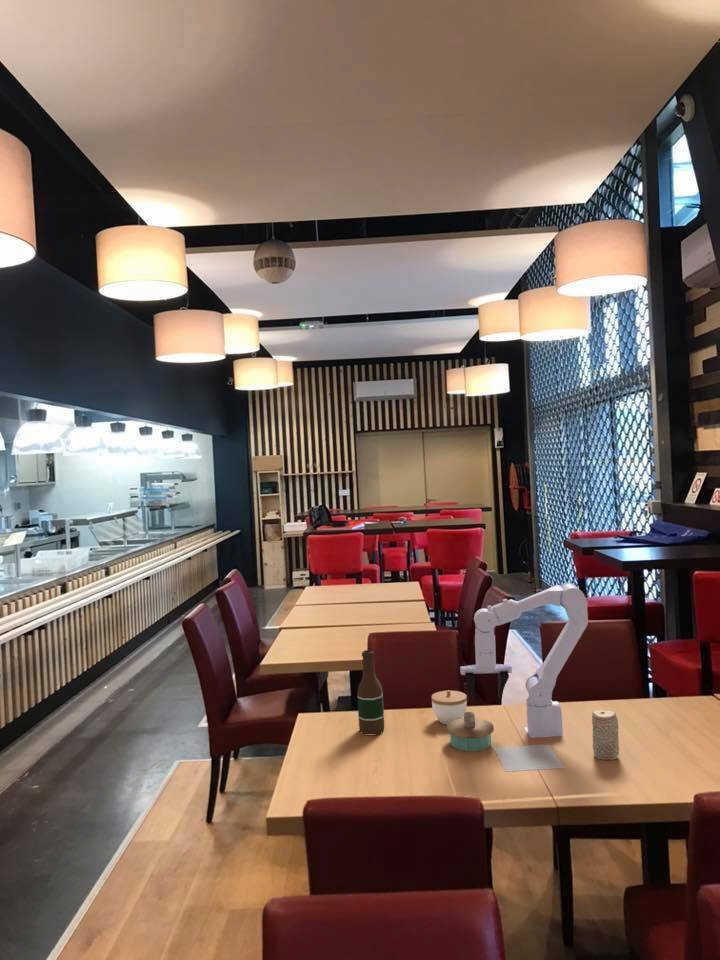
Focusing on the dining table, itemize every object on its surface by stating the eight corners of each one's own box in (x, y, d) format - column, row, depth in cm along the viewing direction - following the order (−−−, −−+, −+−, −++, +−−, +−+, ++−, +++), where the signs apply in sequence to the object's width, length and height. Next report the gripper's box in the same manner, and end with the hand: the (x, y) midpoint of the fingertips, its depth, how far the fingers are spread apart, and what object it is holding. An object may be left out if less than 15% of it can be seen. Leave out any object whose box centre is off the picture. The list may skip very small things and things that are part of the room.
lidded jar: (467, 714, 221) (465, 684, 221) (468, 727, 211) (467, 696, 211) (432, 715, 223) (430, 685, 222) (432, 728, 212) (431, 697, 212)
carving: (589, 761, 183) (587, 714, 183) (599, 750, 189) (596, 706, 189) (614, 766, 179) (611, 719, 179) (623, 755, 185) (621, 709, 185)
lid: (486, 719, 204) (485, 704, 204) (499, 735, 191) (498, 720, 191) (442, 722, 203) (441, 708, 203) (452, 740, 190) (451, 724, 190)
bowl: (486, 736, 203) (485, 720, 203) (494, 751, 192) (493, 735, 192) (448, 738, 203) (447, 722, 203) (453, 754, 192) (453, 737, 192)
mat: (548, 746, 194) (548, 744, 193) (565, 770, 178) (564, 767, 178) (493, 750, 193) (493, 747, 193) (505, 773, 178) (505, 771, 178)
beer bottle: (389, 728, 214) (385, 649, 213) (376, 737, 207) (371, 655, 206) (368, 724, 218) (363, 646, 217) (354, 733, 211) (349, 653, 211)
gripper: (462, 655, 200) (464, 703, 201) (513, 654, 200) (515, 701, 201) (458, 649, 207) (460, 695, 208) (508, 647, 208) (509, 693, 208)
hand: (486, 698), depth 205 cm, fingers open, 7 cm apart
